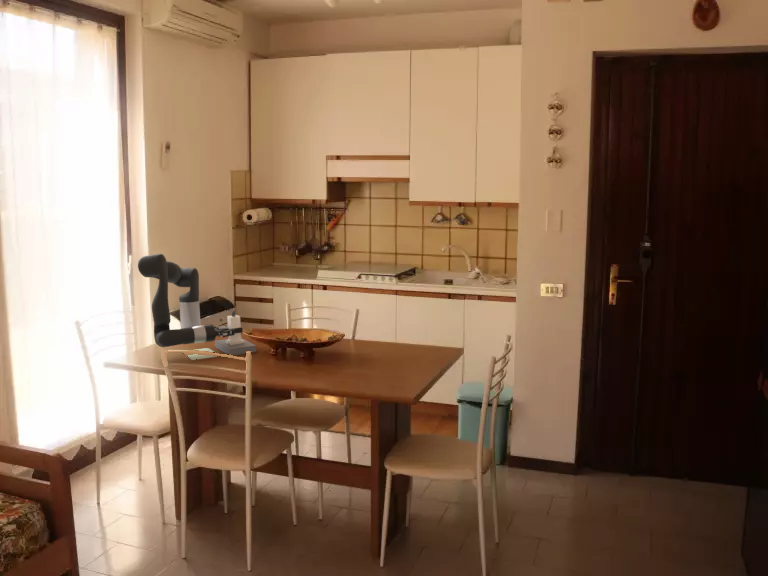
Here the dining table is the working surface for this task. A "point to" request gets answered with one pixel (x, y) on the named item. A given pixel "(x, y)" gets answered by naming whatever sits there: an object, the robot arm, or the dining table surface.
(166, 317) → the robot arm
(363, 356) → the dining table surface
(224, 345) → the grey slotted block
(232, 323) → the plug
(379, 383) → the dining table surface
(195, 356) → the mat
